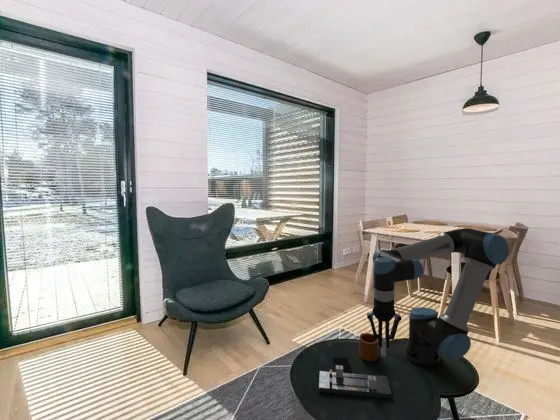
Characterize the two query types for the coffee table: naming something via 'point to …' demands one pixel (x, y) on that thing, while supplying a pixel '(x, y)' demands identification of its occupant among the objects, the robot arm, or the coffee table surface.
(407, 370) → the coffee table surface
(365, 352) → the mug
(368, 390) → the console
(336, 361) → the smartphone
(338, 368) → the fader
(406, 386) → the coffee table surface
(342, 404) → the coffee table surface
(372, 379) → the block
